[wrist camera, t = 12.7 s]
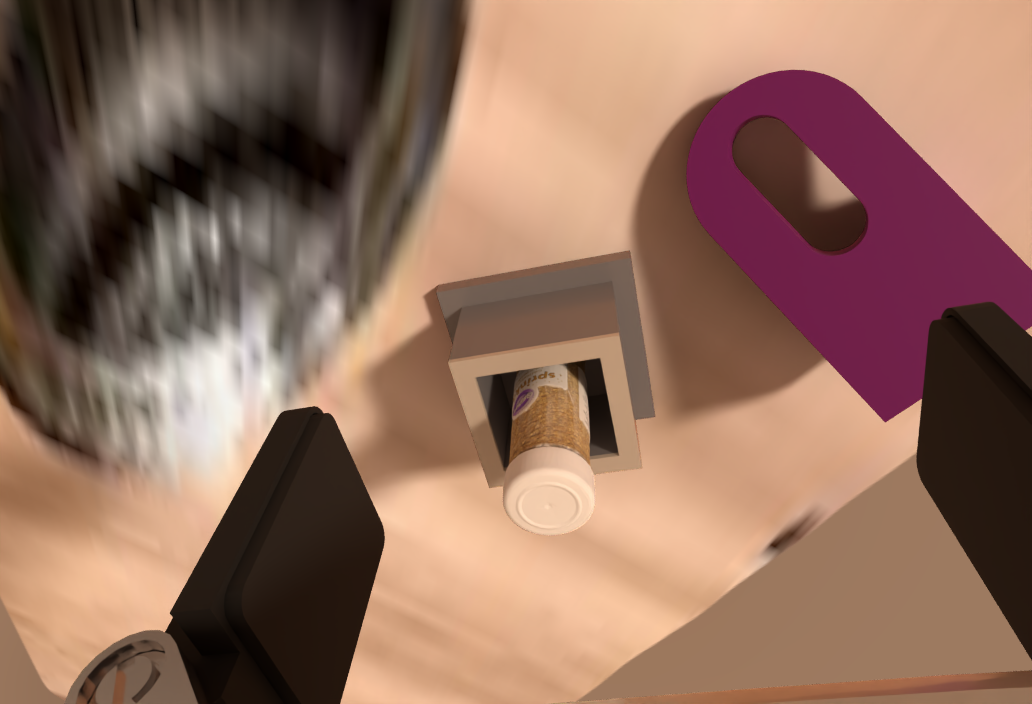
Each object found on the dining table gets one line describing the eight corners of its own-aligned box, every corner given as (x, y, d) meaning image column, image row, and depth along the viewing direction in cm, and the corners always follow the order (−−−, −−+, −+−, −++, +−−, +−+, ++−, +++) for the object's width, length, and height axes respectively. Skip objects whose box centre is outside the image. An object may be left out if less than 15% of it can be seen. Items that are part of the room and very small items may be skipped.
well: (438, 285, 44) (418, 347, 38) (629, 250, 42) (640, 310, 36) (485, 432, 50) (474, 505, 44) (653, 407, 48) (666, 481, 42)
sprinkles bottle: (534, 314, 44) (526, 459, 32) (599, 342, 45) (613, 492, 33) (504, 368, 46) (487, 521, 35) (566, 394, 47) (569, 551, 36)
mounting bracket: (678, 169, 45) (873, 378, 44) (650, 170, 38) (884, 423, 36) (798, 50, 41) (1019, 278, 40) (794, 25, 34) (1065, 304, 32)
